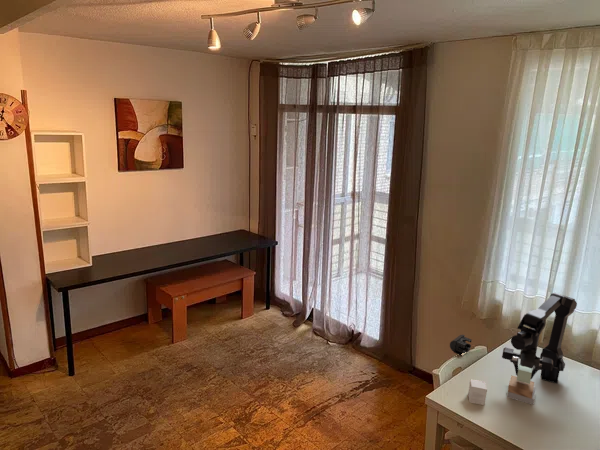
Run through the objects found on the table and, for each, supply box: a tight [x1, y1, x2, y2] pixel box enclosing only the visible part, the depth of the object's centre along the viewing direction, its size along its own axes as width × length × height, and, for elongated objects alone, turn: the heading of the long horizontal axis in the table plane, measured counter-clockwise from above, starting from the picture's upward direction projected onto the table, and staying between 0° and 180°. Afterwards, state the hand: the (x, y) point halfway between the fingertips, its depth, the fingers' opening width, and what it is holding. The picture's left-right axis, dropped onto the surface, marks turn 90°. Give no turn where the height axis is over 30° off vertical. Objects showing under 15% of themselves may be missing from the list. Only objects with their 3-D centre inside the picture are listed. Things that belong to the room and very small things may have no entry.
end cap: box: [449, 334, 473, 356], centre depth 226 cm, size 10×7×7 cm
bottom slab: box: [506, 380, 536, 405], centre depth 191 cm, size 10×10×3 cm
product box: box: [467, 378, 488, 406], centre depth 186 cm, size 6×6×7 cm
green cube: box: [516, 363, 533, 384], centre depth 189 cm, size 5×5×5 cm
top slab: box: [507, 375, 535, 399], centre depth 190 cm, size 9×9×3 cm
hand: (523, 376), depth 189 cm, fingers closed on green cube, 5 cm apart
